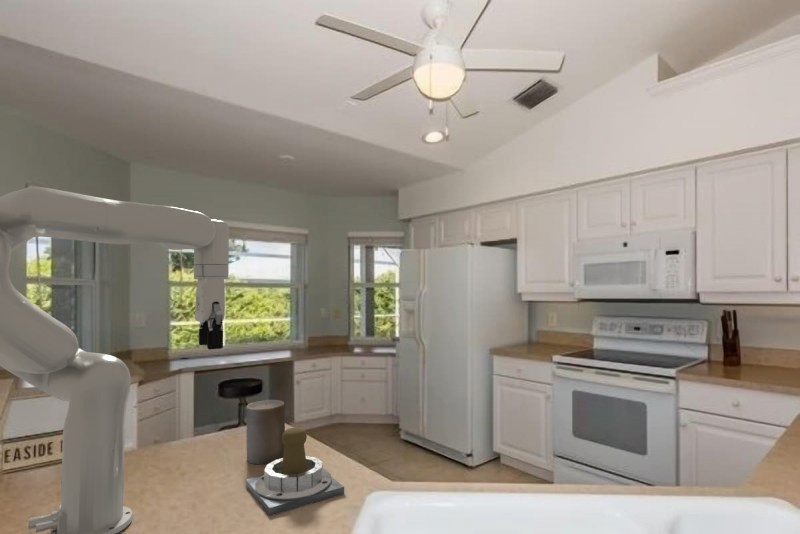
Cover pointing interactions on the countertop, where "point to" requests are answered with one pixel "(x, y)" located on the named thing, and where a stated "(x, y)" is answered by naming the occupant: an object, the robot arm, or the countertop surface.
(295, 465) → the olive knobbed peg
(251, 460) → the pillar candle
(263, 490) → the rosette plate
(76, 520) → the robot arm
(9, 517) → the countertop surface
